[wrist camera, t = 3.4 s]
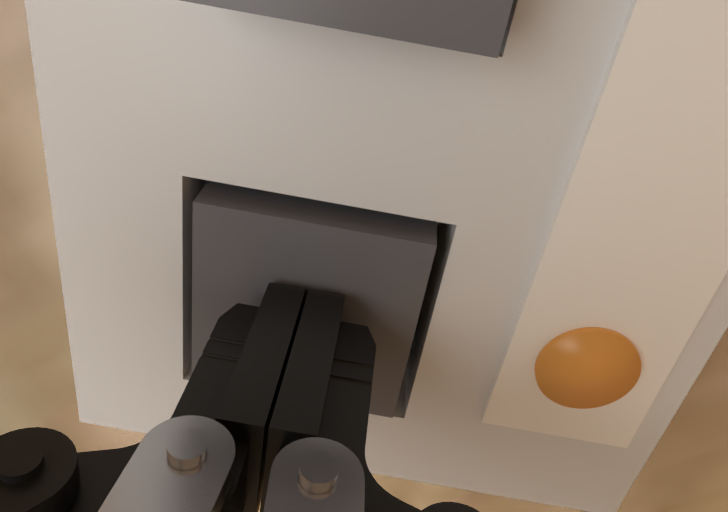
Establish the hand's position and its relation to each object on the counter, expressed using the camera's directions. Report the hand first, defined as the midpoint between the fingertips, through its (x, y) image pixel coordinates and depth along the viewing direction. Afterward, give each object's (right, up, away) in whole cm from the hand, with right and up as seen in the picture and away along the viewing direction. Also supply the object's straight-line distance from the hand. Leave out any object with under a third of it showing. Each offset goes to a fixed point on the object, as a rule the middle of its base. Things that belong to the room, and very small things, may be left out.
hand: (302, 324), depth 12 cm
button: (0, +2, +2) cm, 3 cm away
